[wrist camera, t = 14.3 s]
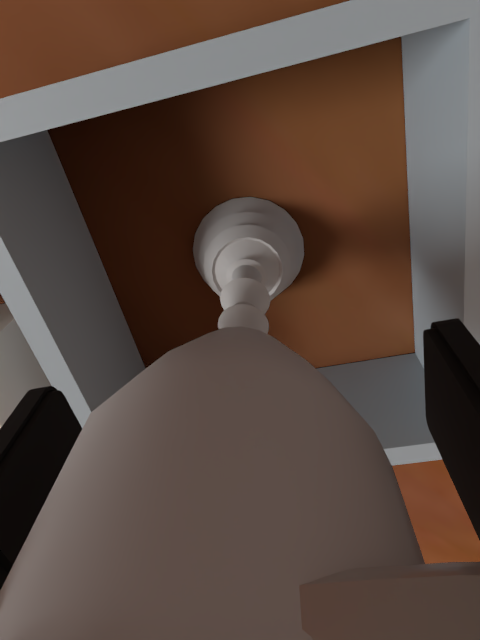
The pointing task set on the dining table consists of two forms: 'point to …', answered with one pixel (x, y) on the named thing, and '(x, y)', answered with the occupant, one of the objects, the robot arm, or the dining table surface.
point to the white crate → (16, 365)
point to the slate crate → (213, 69)
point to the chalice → (212, 478)
